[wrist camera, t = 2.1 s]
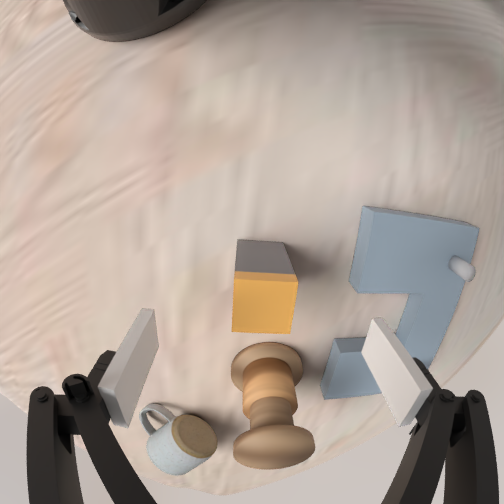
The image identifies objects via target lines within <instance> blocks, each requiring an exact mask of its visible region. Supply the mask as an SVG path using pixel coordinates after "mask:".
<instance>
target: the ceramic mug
mask: <svg viewBox="0 0 504 504" xmlns="http://www.w3.org/2000/svg"><path fill="white" fill-rule="evenodd" d="M149 410H153V411H156V412H158V413H160V414H161V415H162V416H163V417H165V418H166V419H167V420H168V421H169V422H168V423H167V424H165V425H164V426H162V427H161V428H159V429H158V430H155V429H154V428H153V426H152V425H151V424H150V422H149V420H148V418H147V415H146V413H147V412H148V411H149ZM139 418H140V422H141V424H142V426H143V428H144V429H145V431H146V432H147V433H148V434H149V435H150V437H149V439H148V441H147V446H146V448H147V452H148V455H149V457H150V459H151V461H152V462H153V463H154V465H155V466H156V467H157V468H159V469H160V470H161V471H163V472H165V473H167V474H171V475H183V474H186V473H187V472H189V471H190V470H192V469H194V468H195V467H197V466H198V465H200V464H201V463H203V462H205V461H206V460H208V459H209V458H210V457H211V456H212V455H213V454H214V452H215V451H216V449H217V438H216V435H215V432H214V431H213V429H212V428H211V427H210V426H209V424H208V423H207V422H205V421H204V420H202V419H201V418H199V417H196V416H193V415H181V416H179V417H175V416H174V415H173V413H172V412H171V411H169V410H168V409H166V408H165V407H164V406H161V405H159V404H149V405H147V406H146V407H145V408H144V409H142V410H141V412H140V414H139Z"/></svg>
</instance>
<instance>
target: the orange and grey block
mask: <svg viewBox="0 0 504 504" xmlns="http://www.w3.org/2000/svg"><path fill="white" fill-rule="evenodd" d="M297 288H298V280H297V277H296V275H295V272H294V270H293V267H292V264H291V262H290V259H289V257H288V254H287V252H286V249H285V247H284V244H283V242H269V241H253V240H237V251H236V263H235V275H234V292H233V313H232V332H247V333H273V334H290V330H291V325H292V319H293V313H294V307H295V301H296V295H297Z"/></svg>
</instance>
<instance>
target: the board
mask: <svg viewBox="0 0 504 504" xmlns="http://www.w3.org/2000/svg"><path fill="white" fill-rule="evenodd" d="M478 233H479V228H477V227H475V226H473V225H471V224H469V223H466V222H462V221H457V220H452V219H446V218H441V217H435V216H429V215H423V214H417V213H411V212H404V211H397V210H391V209H384V208H376V207H369V206H363V207H362V214H361V220H360V226H359V232H358V237H357V243H356V248H355V254H354V259H353V264H352V268H351V273H350V278H349V282H350V284H351V285H352V286H353V288H354V289H355V291H356V292H357V293H410V294H409V297H408V301H407V304H406V307H405V310H404V313H403V315H402V318H401V321H400V324H399V327H398V329H397V332H396V336H397V338H398V339H399V340H400V342H401V343H402V345H403V346H404V347H405V349H406V350H407V351H408V353H409V354H410V356H411V357H412V358H413V357H416V358H418V359H419V360H420V361H422V362H423V364H424V365H425V367H426V369H428V368H429V366H430V364H431V362H432V360H433V358H434V356H435V354H436V352H437V350H438V348H439V346H440V344H441V342H442V339H443V337H444V335H445V333H446V330H447V328H448V326H449V323H450V321H451V318H452V316H453V313H454V311H455V308H456V306H457V303H458V300H459V298H460V295H461V292H462V289H463V286H464V283H465V281H467V282H469V281H471V280H472V279H473V278H474V276H475V273H476V269H475V267H474V266H472V265H471V260H472V256H473V253H474V249H475V245H476V241H477V237H478ZM365 340H366V337H365V338H340V339H334V342H333V345H332V349H331V352H330V355H329V359H328V362H327V365H326V369H325V372H324V375H323V378H322V381H321V384H320V386H321V390H322V393H323V397H324V400H325V399H337V398H348V397H357V396H365V395H373V394H380V393H382V392H381V390H380V388H379V386H378V384H377V382H376V380H375V378H374V376H373V374H372V372H371V371H370V369H369V367H368V365H367V363H366V361H365V359H364V357H363V355H362V353H361V352H362V349H363V346H364V343H365Z"/></svg>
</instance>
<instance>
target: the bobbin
mask: <svg viewBox="0 0 504 504" xmlns="http://www.w3.org/2000/svg"><path fill="white" fill-rule="evenodd" d="M302 374H303V367H302V363H301V359H300V357H299V355H298V353H297V352H296V351H295V350H293V349H292V348H290V347H289V346H286V345H284V344H280V343H274V342H264V343H258V344H254V345H251V346H249V347H247V348H245V349H243V350H242V351H240V352H239V353H238V354H237V355H236V357H235V358H234V360H233V362H232V366H231V378H232V381H233V383H234V385H235V386H236V387H237V388H238V389H239V390H240V391H242V392H243V413H244V415H245V416H246V417H247V418H249V419H250V430H249V431H246V432H244V433H243V434H241V435H240V436H238V437H237V438H236V440H235V441H234V445H233V456H234V458H235V460H236V461H237V462H239V463H240V464H242V465H244V466H247V467H251V468H255V469H280V468H286V467H290V466H293V465H296V464H299V463H301V462H303V461H305V460H306V459H308V458H309V457H310V456H311V455H312V454H313V453H314V451H315V444H314V439H313V435H312V434H311V433H310V432H309V431H308V430H306V429H304V428H301V427H298V426H294V423H293V417H292V415H293V414H294V413H295V412H296V410H297V408H298V403H297V398H296V392H295V386H296V385H297V384H298V383H299V381H300V379H301V377H302Z"/></svg>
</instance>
